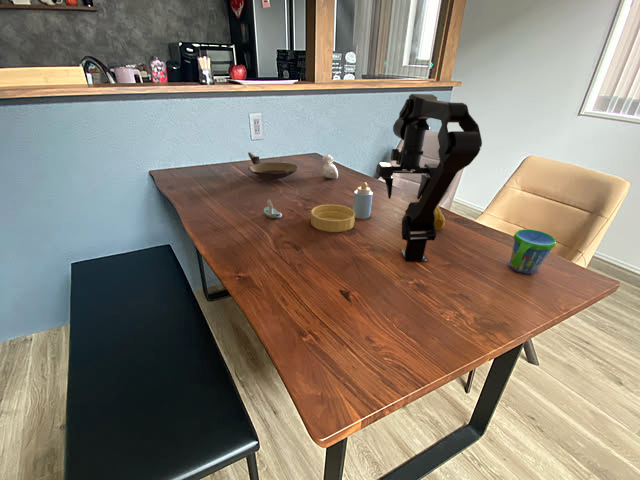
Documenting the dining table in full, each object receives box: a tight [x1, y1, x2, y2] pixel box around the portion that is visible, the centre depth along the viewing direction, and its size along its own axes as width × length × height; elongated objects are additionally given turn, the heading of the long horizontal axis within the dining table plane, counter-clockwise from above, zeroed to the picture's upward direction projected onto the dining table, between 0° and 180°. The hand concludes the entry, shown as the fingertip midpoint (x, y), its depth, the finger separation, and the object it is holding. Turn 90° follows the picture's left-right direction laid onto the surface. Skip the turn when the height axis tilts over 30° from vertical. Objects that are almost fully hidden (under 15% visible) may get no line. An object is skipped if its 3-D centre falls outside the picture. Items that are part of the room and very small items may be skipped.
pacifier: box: [263, 199, 283, 219], centre depth 131 cm, size 7×6×6 cm
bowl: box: [310, 204, 356, 233], centre depth 127 cm, size 15×15×4 cm
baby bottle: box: [352, 181, 374, 220], centre depth 132 cm, size 7×7×12 cm
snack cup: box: [509, 228, 557, 275], centre depth 105 cm, size 16×10×10 cm
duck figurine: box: [322, 153, 339, 180], centre depth 170 cm, size 12×8×11 cm
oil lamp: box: [247, 151, 299, 180], centre depth 170 cm, size 22×30×8 cm
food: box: [434, 204, 446, 231], centre depth 133 cm, size 21×6×6 cm, turn 174°
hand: (403, 198), depth 114 cm, fingers open, 9 cm apart
